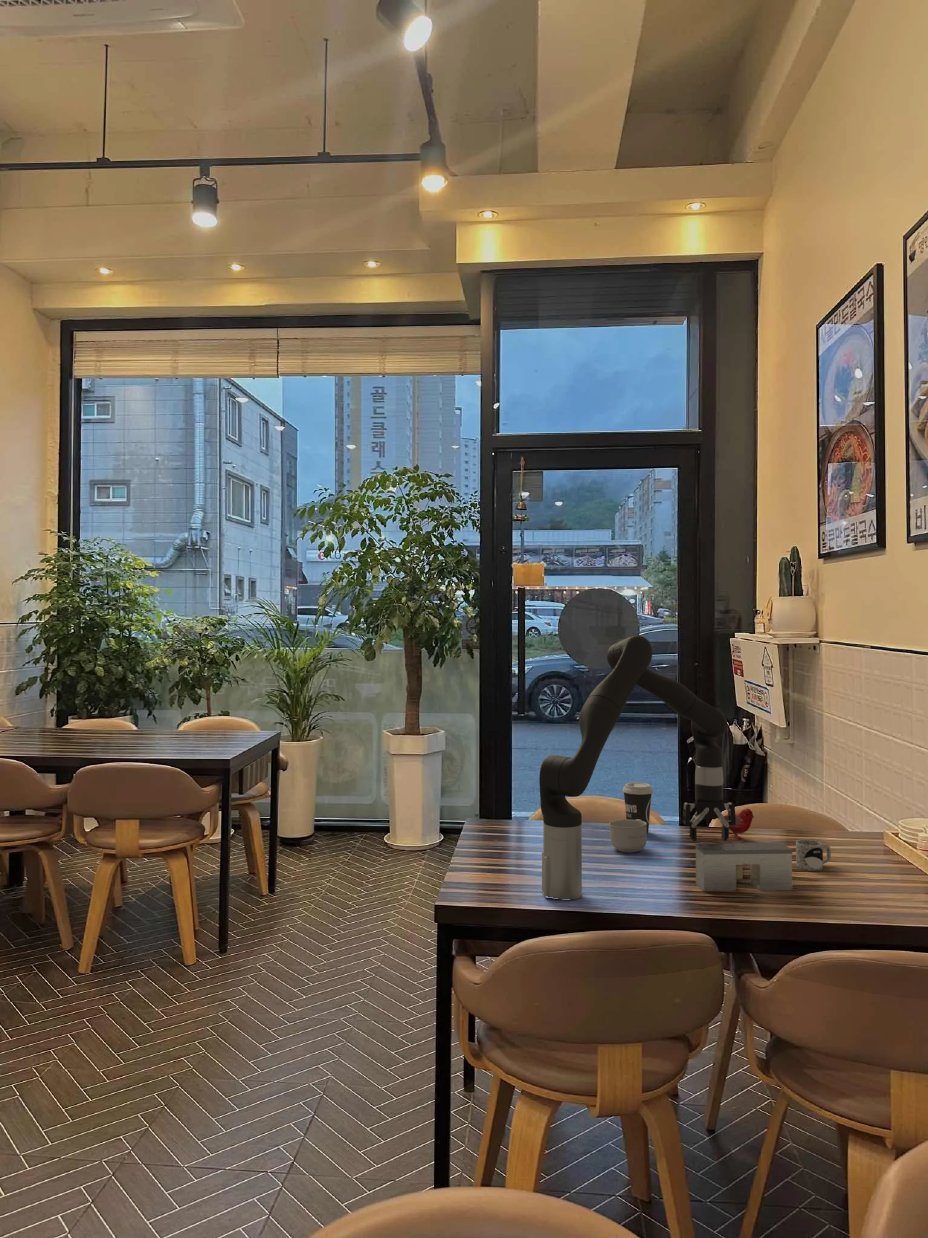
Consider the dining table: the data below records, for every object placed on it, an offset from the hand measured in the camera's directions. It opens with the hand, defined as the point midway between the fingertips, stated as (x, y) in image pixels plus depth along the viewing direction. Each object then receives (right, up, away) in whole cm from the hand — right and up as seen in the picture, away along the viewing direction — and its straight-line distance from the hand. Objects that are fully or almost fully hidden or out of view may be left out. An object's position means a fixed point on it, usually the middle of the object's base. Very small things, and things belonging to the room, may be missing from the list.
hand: (709, 840), depth 226 cm
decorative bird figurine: (+15, -6, +25) cm, 29 cm away
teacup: (-19, -6, +11) cm, 23 cm away
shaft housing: (+1, -5, -24) cm, 25 cm away
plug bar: (0, -5, -8) cm, 9 cm away
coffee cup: (-13, -6, +30) cm, 34 cm away
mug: (+26, -5, -7) cm, 28 cm away
